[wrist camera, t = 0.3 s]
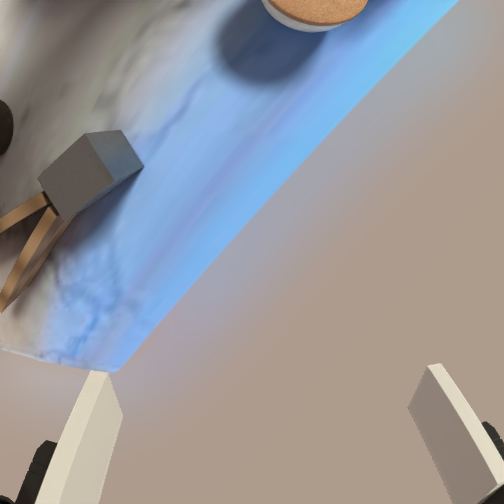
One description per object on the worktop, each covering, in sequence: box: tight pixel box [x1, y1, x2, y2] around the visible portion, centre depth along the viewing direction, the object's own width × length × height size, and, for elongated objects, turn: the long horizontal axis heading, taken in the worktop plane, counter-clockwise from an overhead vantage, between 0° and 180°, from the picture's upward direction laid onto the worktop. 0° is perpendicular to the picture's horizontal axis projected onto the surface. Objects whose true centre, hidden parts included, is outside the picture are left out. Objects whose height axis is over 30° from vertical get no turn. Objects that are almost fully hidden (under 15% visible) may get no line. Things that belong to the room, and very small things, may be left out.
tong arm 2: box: [0, 205, 75, 313], centre depth 33 cm, size 18×1×8 cm, turn 133°
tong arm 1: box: [0, 191, 52, 234], centre depth 31 cm, size 18×1×8 cm, turn 109°
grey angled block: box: [37, 130, 144, 222], centre depth 30 cm, size 7×5×9 cm
